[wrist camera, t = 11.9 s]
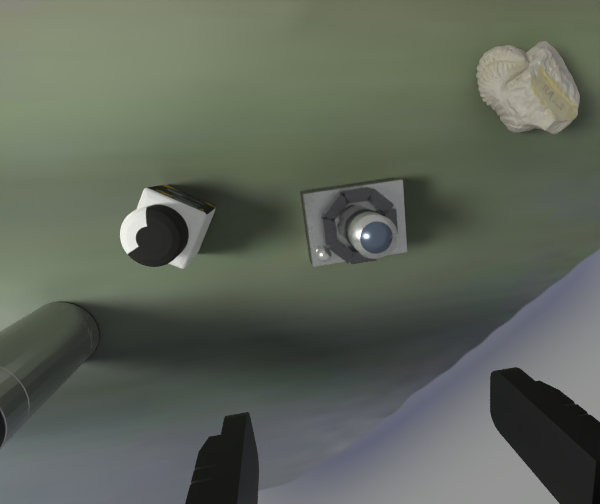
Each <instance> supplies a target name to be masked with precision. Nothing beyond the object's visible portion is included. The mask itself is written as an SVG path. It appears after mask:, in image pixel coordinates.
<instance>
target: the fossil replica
mask: <svg viewBox="0 0 600 504" xmlns="http://www.w3.org/2000/svg"><path fill="white" fill-rule="evenodd" d="M477 71H478V72H477V74H476V77H477V78H478V82H477V84H478V85H479V89H478V90H479V91H480V96H481V97H483V102H486V103H487V106H491V107H492V110H495V111H496V112H497V115H500V120H501V121H502V122H503V124H504V125H506V127H507V129H508V130H510V131H512V132H524V131H530V130H532V129H534V128H536V129H539V128H540V129H543V130H545V131H548V132H549V133H551V134H557V133H558V132H560V131H562V130H563V129H564V128H566V127H567V126H568V125H569V124H571V122H572V121H573V120H574V119H575V118H576V117H577V115H578V107H579V102H580V94H579V92H578V88H577V86H576V84H575V82H574V79H573V77H572V75H571V74H570V73H569V71H568V69H567V67H566V65H565V62H564V60H563V59H562V57H561V56H560V55H559V53H558V51H557V50H555V48H553V47H552V46H551V45H549V44H548V43H547V42H546V41H543V42H538V43H537V44H536V45H535V46H534V47H533V48H531V49H530V50H529V51H527V52H525V51H524V50H521V49H518V48H516V47H514V46H509V45H506V46H501V47H500V46H497V47H495V48H492V49H490V51H487V52H485V53H484V55H483V57H482V58H481V59H480V61H479V65H478V66H477Z"/></svg>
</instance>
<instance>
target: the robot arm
mask: <svg viewBox="0 0 600 504" xmlns="http://www.w3.org/2000/svg"><path fill="white" fill-rule="evenodd" d="M98 342H99V330H98V327H97V324H96V322H95V321H94V319H93V318H92V316H91V315H90V314H89V313H87V312H86V311H85V310H84V309H82V308H80V307H78V306H76V305H74V304H70V303H65V302H55V303H49V304H47V305H44V306H42V307H41V308H39V309H37V310H36V311H34V312H32V313H31V314H29V315H27V316H26V317H24V318H22V319H21V320H19V321H17V322H16V323H14V324H12V325H11V326H9V327H7V328H6V329H4V330H2V331H1V332H0V448H1V447H2V446H3V445H4V444H5V443H6V442H7V441H8V440H9V439H10V438H11V437H12V436H13V435H14V434H15V433H16V432H17V431H18V430H19V429H20V428H21V427H22V426H23V424H24V423H25V422H26V421H27V420H28V419H29V418H30V417H31V416H32V415H33V414H34V413H35V412H36V411H37V410H38V409H39V408H40V407H41V406H42V405H43V404H44V403H45V402H46V401H47V400H48V399H49V398H50V397H51V396H52V395H53V393H54V392H55V391H56V390H57V389H58V388H59V387H60V386H61V385H62V384H63V383H64V382H65V381H66V380H67V379H68V378H69V377H70V376H71V375H72V374H73V373H74V372H75V371H76V370H77V369H78V368H79V367H80V366H81V364H82V363H83V362H84V361H85V360H86V359H87V358H88V357H89V356H90V355H91V354H92V353H93V352H94V351H95V349H96V347H97V345H98ZM490 381H491V382H490V412H491V417H492V420H493V422H494V424H495V427H496V428H497V430H498V431H499V432H500V434H501V435H502V436H503V437H504V438H505V440H506V441H507V442H508V443H509V444H510V446H511V447H512V448H513V449H514V450H515V451H516V453H517V454H518V455H519V456H520V457H521V458H522V460H523V461H524V462H525V463H526V464H527V466H528V467H529V468H530V469H531V470H532V471H533V473H534V474H535V475H536V476H537V477H538V478H539V480H540V481H541V482H542V483H543V484H544V486H545V487H546V488H547V489H548V490H549V491H550V493H551V494H552V495H553V496H554V497H555V498H556V500H557V501H558V502H559V503H560V504H600V422H599V421H598V420H596V419H595V418H594V417H593V416H591V415H588V413H587V412H586V411H585V410H584V409H583V408H581V407H580V406H579V405H575V403H574V401H572V400H571V399H570V398H569V397H567V396H566V395H565V394H563V393H562V392H561V391H560V390H558V389H556V388H554V387H552V386H550V385H547V384H545V383H543V382H541V381H534V380H533V379H532V378H531V377H529V376H528V375H527V374H526V373H525V372H524V371H522V370H521V369H519V368H516V367H515V368H509V369H503V370H497V371H493V372H492V373H491V378H490ZM258 481H259V461H258V453H257V447H256V442H255V438H254V433H253V428H252V423H251V418H250V415H249V413H248V412H246V413H240V414H235V415H229V416H225V418H224V422H223V427H222V432H221V435H217V436H211V437H209V438H208V439H207V441H206V442H205V444H204V445H203V447H202V448H201V449H200V451H199V453H198V457H197V461H196V465H195V471H194V473H193V476H192V480H191V485H190V488H189V492H188V495H187V499H186V503H185V504H257V502H258Z"/></svg>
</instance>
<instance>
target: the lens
mask: <svg viewBox="0 0 600 504" xmlns="http://www.w3.org/2000/svg"><path fill="white" fill-rule="evenodd" d="M339 229H340V232H341V234H342V235H343V236H344V238H345V239H346V240H347V241H348V243H349V244H350V245H351V246H352V247H353V248H354V249H355V250H357V251H358V252H359V253H360V254H362V255H363V256H365V257H367V258H371V259H378V258H382V257H384V256H386V255H388V254H389V253H390V252H391V251H392V250H393V249H394V247H395V245H396V243H397V238H398V233H397V229H396V226H395V225H394V223H393V222H392V221H391V220H390V219H388V218H387V217H385V216H383V215H382V214H380V213H378V212H376V211H374V210H371V209H367V208H365V207H362V206H353V207H350V208H348V209H347V210H346V211H345V212H344V213H343V214H342V215H341V217H340V220H339Z"/></svg>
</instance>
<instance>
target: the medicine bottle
mask: <svg viewBox="0 0 600 504" xmlns="http://www.w3.org/2000/svg"><path fill="white" fill-rule="evenodd" d="M215 210H216V207H215V206H213V205H211V204H209V203H206V202H204V201H202V200H200V199H197V198H195V197H193V196H190V195H188V194H186V193H184V192H181V191H179V190H177V189H174V188H172V187H170V186H168V185H160V186H154V187H148V188H145V189H144V190H143V193H142V196H141V199H140V201H139V204H138V207H137V210H135V211H133V212H132V213H130V214H129V215H128V216H127V217H126V218H125V220H124V221H123V223H122V226H121V230H120V239H121V243H122V246H123V248H124V250H125V251H126V253H127V254H128V255H129V256H130V257H131V258H132V259H133V260H135V261H136V262H138V263H140V264H142V265H145V266H150V267H158V266H163V265H166V264H168V263H169V264H172V265H174V266H177V267H179V268H182V269H184V268H186V266H187V265H188V264H189V263H190V262H191V261H192V259H193V258H194V257H195V256H196V255H197V254H198V252H199V249H200V247H201V244H202V242H203V240H204V237H205V235H206V232H207V230H208V227H209V225H210V222H211V220H212V217H213V215H214V212H215Z"/></svg>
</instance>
